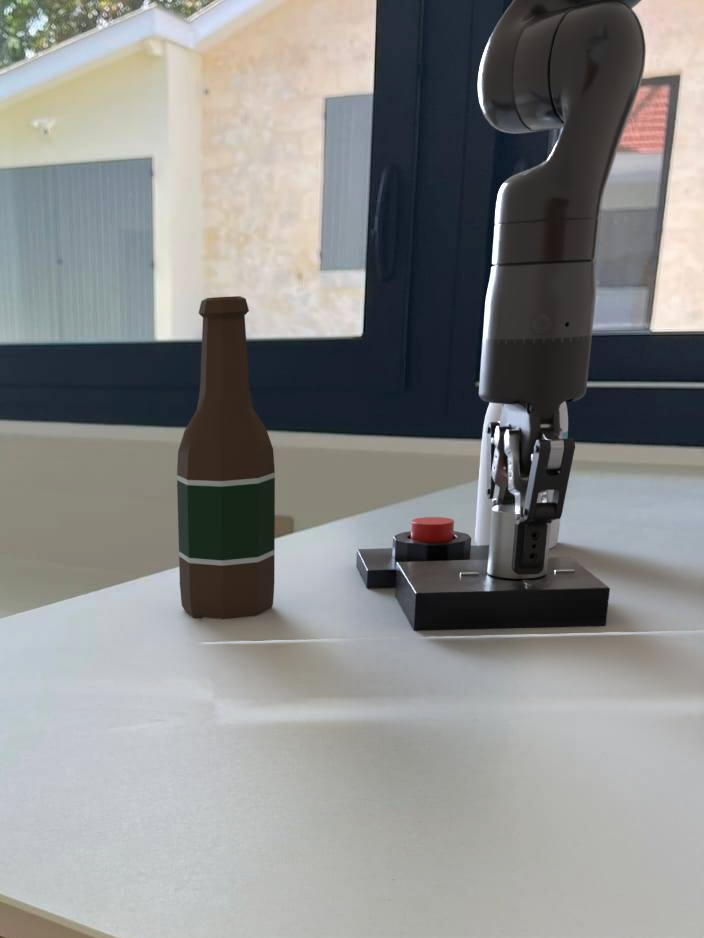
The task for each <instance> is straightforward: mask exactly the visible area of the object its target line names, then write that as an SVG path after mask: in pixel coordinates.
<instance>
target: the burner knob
mask: <svg viewBox="0 0 704 938" xmlns="http://www.w3.org/2000/svg"><path fill="white" fill-rule="evenodd" d="M515 524H516V520H515V503H512V504H502V505H497V506H494V507H493V508H492V515H491V529H490V542H489V556H488V570H487V572H488V574H489V575H492V576H495V577H499V578H507V579H532V578H538V577H542V576H544V575H546V573H547V564H548V558H549V552H550V549H549V543H550V532H551V523H547V524H548V528H547V538H546V549H545V559H544V568H543V571H542V572H541V573H539V574H525V575H519V574H516V573H515V572H514V571H513V570H512V557H513V545H514V533H515Z"/></svg>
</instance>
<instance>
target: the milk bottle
mask: <svg viewBox="0 0 704 938" xmlns="http://www.w3.org/2000/svg"><path fill="white" fill-rule="evenodd" d="M502 408H503V404H498V403H490V402H488V406H487V409H486V413H485V416H484V421H483V427H482V436H481V446H480V457H479V470H478V471H479V473H478V484H477V496H476V497H477V500H476V513H475V529H474V542H475V544H476V546H478V545H489V542H490V529H491V515H492V508H493V506H492V500H493V499H488V498H487V494H486V489H487V433H486V428H487V425H488V423H489V422H498V421H500V417H501V413H502ZM559 411H560V428H562V431H563V439H568V438H569V437H568V435H569V414H568V405H567V402H563V403H562V404H561V405H560V408H559ZM503 469H506V467H503ZM553 493H554V491H553ZM537 503H542V496H541V494H540V493H539V494H538V499H537ZM560 527H561V518H560V519H553V520H552V522H551V532H550V543H549V550H550V549H553V548H554V547H556V545H557V543H558V542H559V536H560V535H559V534H560Z"/></svg>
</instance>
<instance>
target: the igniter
mask: <svg viewBox="0 0 704 938" xmlns="http://www.w3.org/2000/svg"><path fill="white" fill-rule="evenodd" d="M488 556H489V545H472V537H471V536H470V534H468V533H467V532H460V531H456V530H454V531H453V540H448V541H439V542H426V541H415V540H411V530H410V531H403V532H400V533H397V534H395V535H393V536H392V547H385V548H357V549H356V562H355V563H356V564H355V565H356V569H357V571H358V573H359V575H360V577H361V579H362V582H363V584H364V586H365V588H366V590H367V589H372V590H373V589H395V587H396V564H397V562H417V561H451V560H485V559H488Z"/></svg>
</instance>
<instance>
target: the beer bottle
mask: <svg viewBox="0 0 704 938" xmlns="http://www.w3.org/2000/svg"><path fill="white" fill-rule="evenodd" d="M248 312H250V309H249V306H248V302H247V298H245V297H243V296H239V295H235V296H234V295H233V296H217V297H216V296H215V297H205V298H203V300H201V301H200V305H199V310H198V315H199V316H201V317H202V329H201V331H202V334H201V353H200V354H201V357H200V379H199V381H200V383H199V384H200V385H199V395H198V400H197V406H196V410H195V413H194V415H193V416H192V417H191V419H190V421H189V423H188V424H187V426H186V428H185V429H184V431H183V434H182V437H181V440H180V444H179V447H178V451H177V466H176V491H177V527H178V529H177V531H178V533H177V534H178V565H179V566H178V567H179V590H180V602H181V603H180V604H181V606H182V609H183V610H184V611H185V612H186V613H187V614H189V615H190V616H191V617H192V618H197V619H203V618H207V619H216V620H217V619H218V620H230V619H239V618H248V617H249V618H250V617H257V616H258V615H261V614H263V613H265V612H266V611H268V610H270V609H272V607H273V605H274V598H275V596H274V594H275V564H276V563H275V561H276V560H275V558H276V557H275V549H276V548H275V546H276V545H275V541H276V539H275V537H276V534H275V532H276V531H275V530H276V529H275V528H276V523H275V522H276V516H275V515H276V513H275V512H276V470H275V469H276V468H275V455H274V447H273V444H272V441H271V438H270V436H269V432H268V430H267V427H266V426H265V424H264V423H263V421H262V420H261V419H260V417H259V415H258V414H257V412H256V411H255V409H254V407H253V402H252V395H251V390H250V379H249V378H250V377H249V364H248V361H249V360H248V348H247V347H248V346H247V331H246V315H247V314H248Z"/></svg>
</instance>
